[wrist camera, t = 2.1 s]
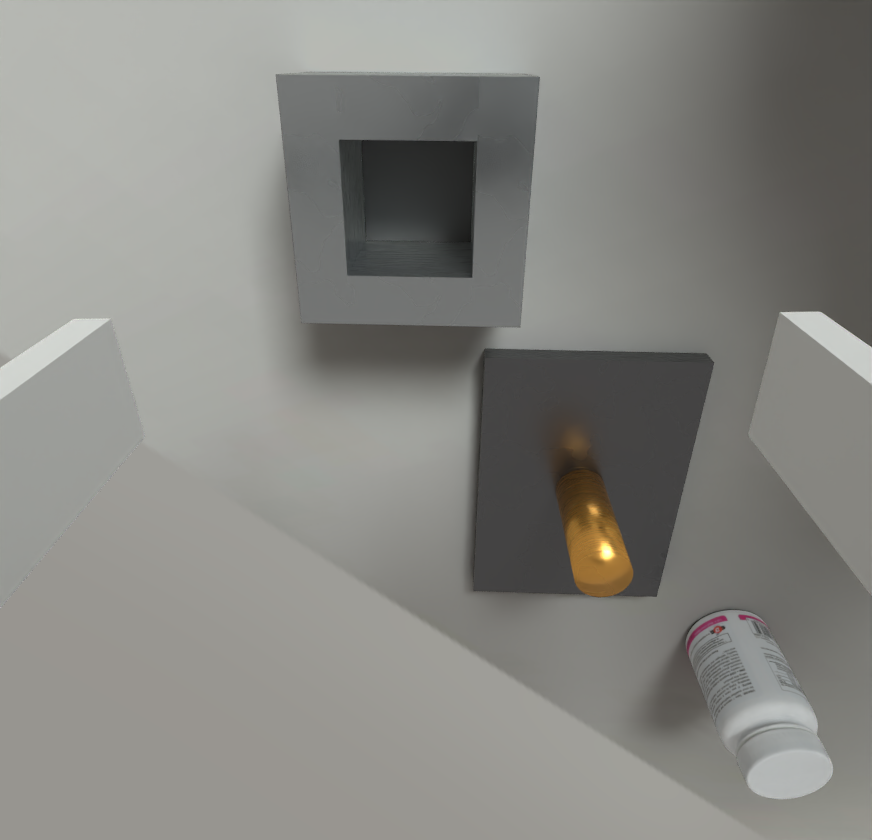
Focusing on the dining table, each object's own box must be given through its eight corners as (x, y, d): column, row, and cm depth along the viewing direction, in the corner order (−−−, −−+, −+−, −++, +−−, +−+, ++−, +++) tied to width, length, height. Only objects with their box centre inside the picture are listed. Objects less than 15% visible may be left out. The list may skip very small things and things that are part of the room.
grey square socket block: (310, 72, 24) (275, 74, 19) (525, 74, 23) (539, 76, 19) (326, 281, 28) (301, 322, 23) (510, 285, 27) (520, 327, 23)
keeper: (484, 348, 29) (490, 426, 23) (706, 353, 29) (772, 432, 22) (473, 577, 36) (475, 683, 30) (651, 583, 35) (690, 691, 29)
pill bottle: (684, 667, 39) (735, 808, 31) (682, 612, 36) (738, 750, 29) (765, 658, 38) (837, 801, 31) (769, 602, 36) (847, 741, 29)
